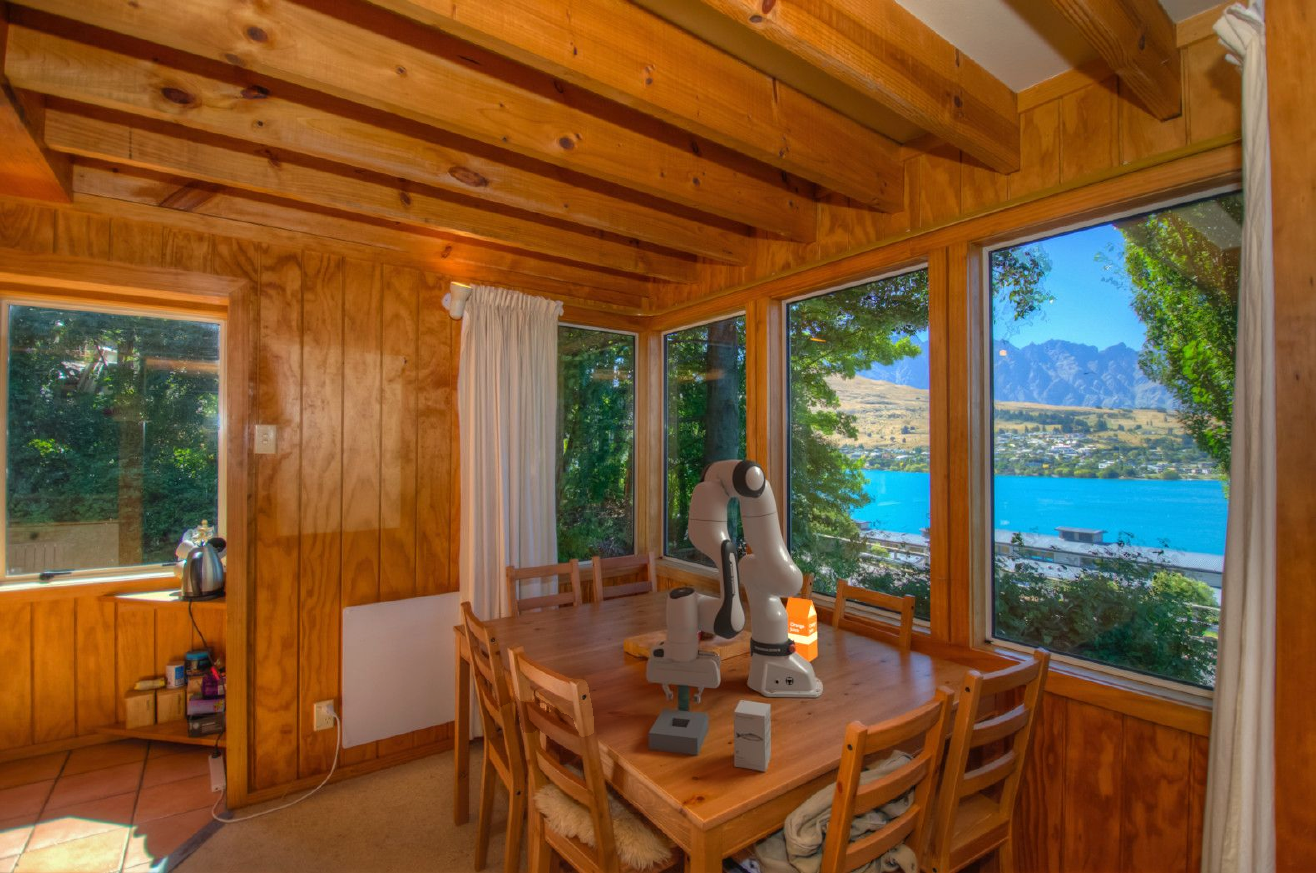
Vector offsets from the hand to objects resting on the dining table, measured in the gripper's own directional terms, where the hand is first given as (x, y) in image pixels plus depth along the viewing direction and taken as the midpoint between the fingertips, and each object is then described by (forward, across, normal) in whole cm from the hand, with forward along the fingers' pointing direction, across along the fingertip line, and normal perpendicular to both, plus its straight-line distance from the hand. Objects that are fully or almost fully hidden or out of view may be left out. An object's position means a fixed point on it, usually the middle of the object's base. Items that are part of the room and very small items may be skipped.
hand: (683, 700), depth 165 cm
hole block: (+4, -2, +13) cm, 14 cm away
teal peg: (+4, 0, 0) cm, 4 cm away
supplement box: (+4, -21, +20) cm, 29 cm away
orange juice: (+4, -29, -55) cm, 62 cm away
